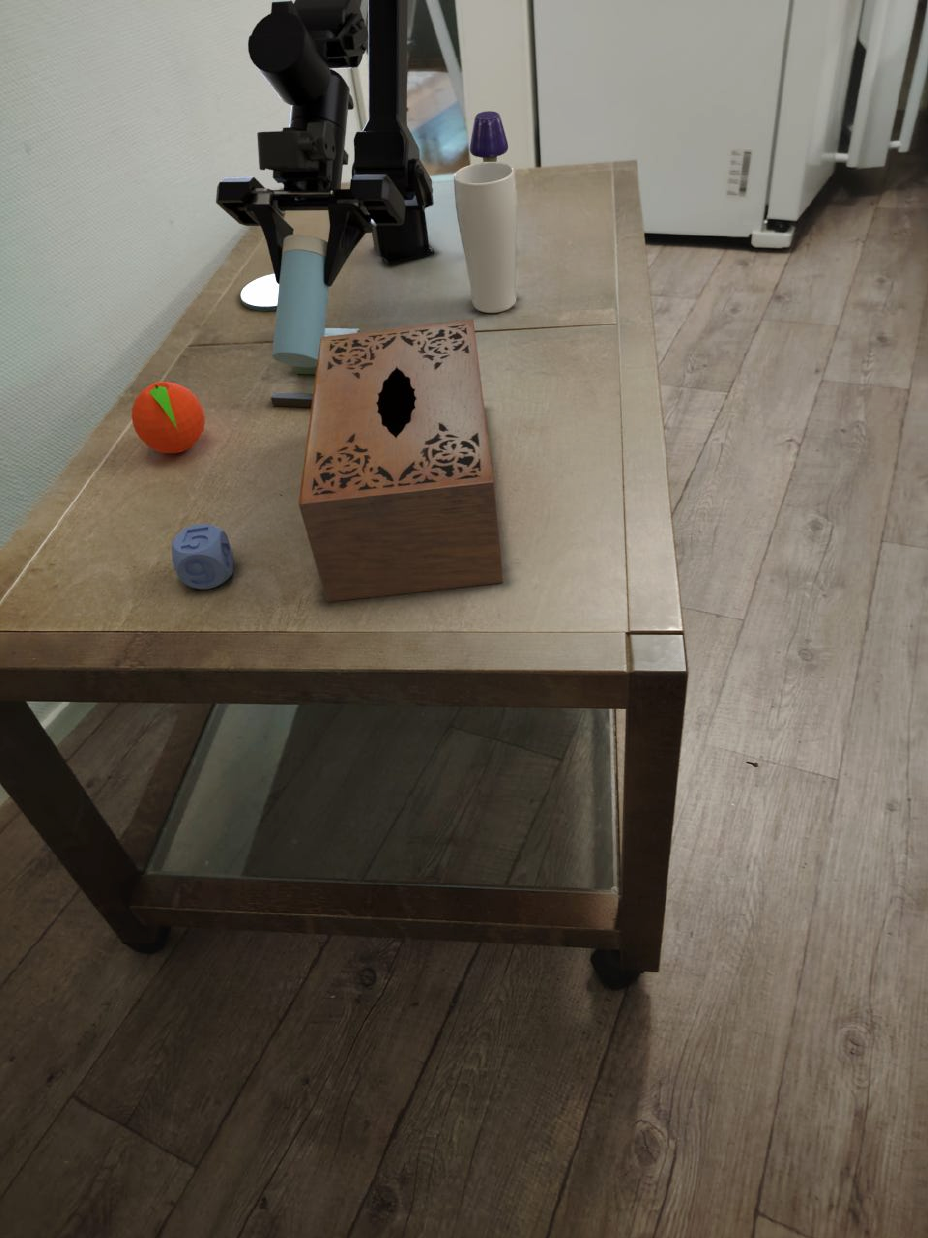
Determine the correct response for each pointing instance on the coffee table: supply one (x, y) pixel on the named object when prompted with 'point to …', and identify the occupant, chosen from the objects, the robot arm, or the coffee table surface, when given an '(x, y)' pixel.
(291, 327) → the plastic bottle
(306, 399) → the cradle
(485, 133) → the toy lamp
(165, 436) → the clementine
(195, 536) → the decorative dice
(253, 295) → the coaster
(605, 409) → the coffee table surface
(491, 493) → the tissue box cover
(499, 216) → the drinking glass
